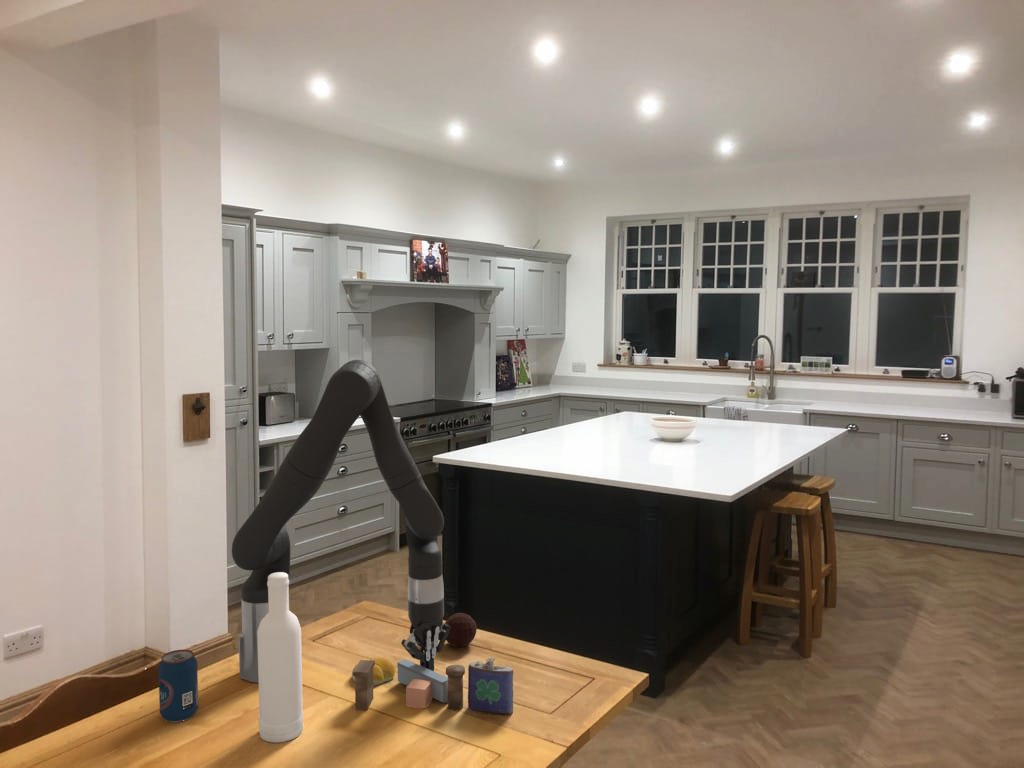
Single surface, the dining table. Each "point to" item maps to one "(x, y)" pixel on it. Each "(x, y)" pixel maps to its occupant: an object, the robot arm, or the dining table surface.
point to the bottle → (279, 666)
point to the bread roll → (381, 671)
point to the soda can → (178, 685)
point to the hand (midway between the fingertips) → (427, 675)
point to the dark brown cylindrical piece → (455, 686)
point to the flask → (490, 688)
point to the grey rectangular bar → (423, 678)
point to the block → (418, 693)
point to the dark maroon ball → (461, 630)
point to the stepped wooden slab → (363, 684)
